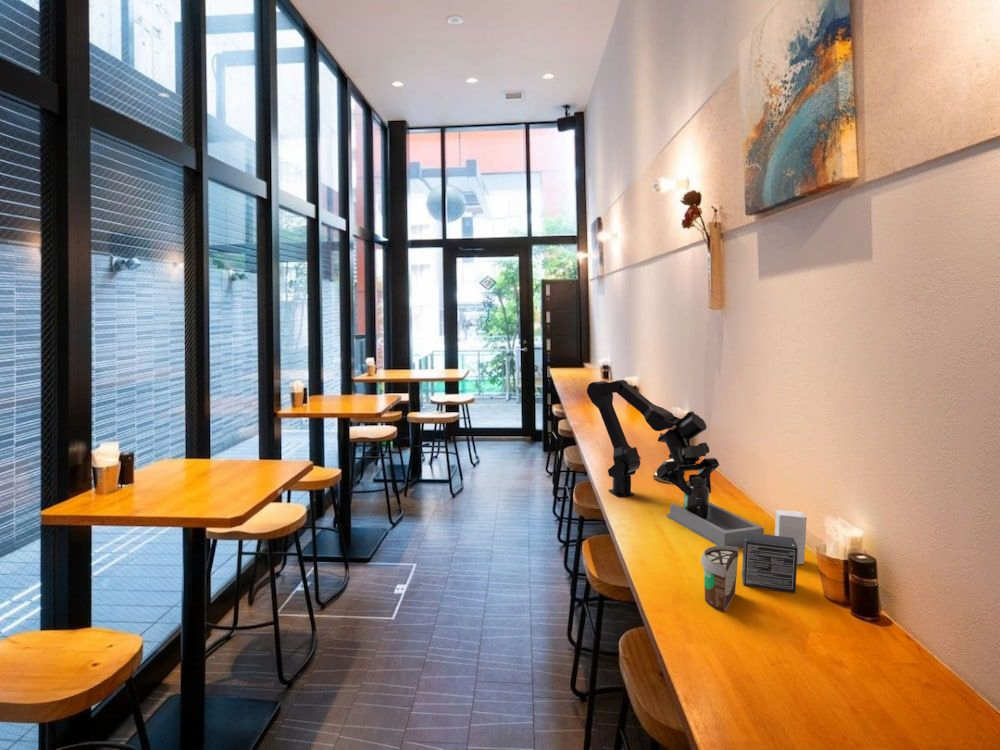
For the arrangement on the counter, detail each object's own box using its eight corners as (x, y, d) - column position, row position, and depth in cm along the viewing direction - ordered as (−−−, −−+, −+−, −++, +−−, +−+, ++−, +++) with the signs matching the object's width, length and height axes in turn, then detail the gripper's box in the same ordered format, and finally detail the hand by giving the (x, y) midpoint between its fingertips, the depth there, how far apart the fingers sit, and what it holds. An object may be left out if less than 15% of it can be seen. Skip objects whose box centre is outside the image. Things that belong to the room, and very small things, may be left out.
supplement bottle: (682, 518, 164) (684, 478, 162) (683, 510, 170) (685, 472, 168) (707, 522, 161) (710, 481, 160) (707, 514, 168) (710, 474, 166)
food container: (707, 583, 126) (709, 540, 125) (736, 591, 123) (739, 546, 122) (691, 606, 116) (693, 559, 115) (722, 615, 113) (725, 567, 112)
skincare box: (799, 558, 140) (802, 511, 139) (804, 565, 136) (807, 517, 135) (772, 555, 141) (775, 509, 140) (776, 562, 137) (779, 515, 136)
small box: (791, 581, 128) (794, 536, 127) (796, 594, 122) (799, 547, 121) (741, 573, 131) (743, 530, 130) (743, 586, 125) (745, 540, 124)
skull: (645, 477, 205) (655, 453, 210) (655, 491, 211) (665, 468, 216) (676, 483, 197) (685, 458, 201) (686, 497, 203) (695, 473, 207)
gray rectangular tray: (666, 516, 168) (666, 503, 168) (702, 511, 172) (703, 498, 172) (724, 549, 145) (725, 534, 144) (765, 543, 149) (766, 528, 148)
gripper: (664, 435, 163) (686, 483, 154) (717, 431, 169) (741, 478, 160) (647, 454, 172) (667, 501, 163) (698, 450, 178) (720, 496, 169)
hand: (699, 494), depth 163 cm, fingers closed on supplement bottle, 7 cm apart
